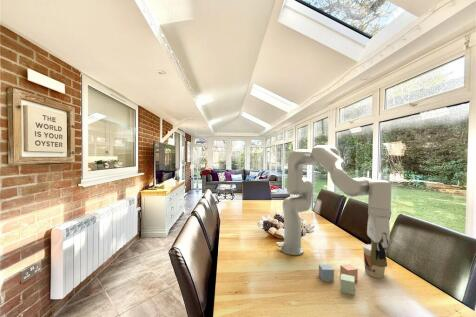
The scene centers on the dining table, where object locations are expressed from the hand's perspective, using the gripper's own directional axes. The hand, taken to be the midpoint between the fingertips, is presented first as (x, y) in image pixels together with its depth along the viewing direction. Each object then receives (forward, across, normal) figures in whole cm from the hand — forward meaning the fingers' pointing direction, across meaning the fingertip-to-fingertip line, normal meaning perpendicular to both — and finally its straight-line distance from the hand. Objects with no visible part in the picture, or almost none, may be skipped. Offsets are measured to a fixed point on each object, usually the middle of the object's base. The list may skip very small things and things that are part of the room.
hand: (378, 257), depth 89 cm
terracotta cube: (+15, -11, -8) cm, 21 cm away
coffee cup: (+15, -18, +6) cm, 25 cm away
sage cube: (+15, -1, -10) cm, 19 cm away
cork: (+3, 0, 0) cm, 3 cm away
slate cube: (+16, -9, -18) cm, 25 cm away
